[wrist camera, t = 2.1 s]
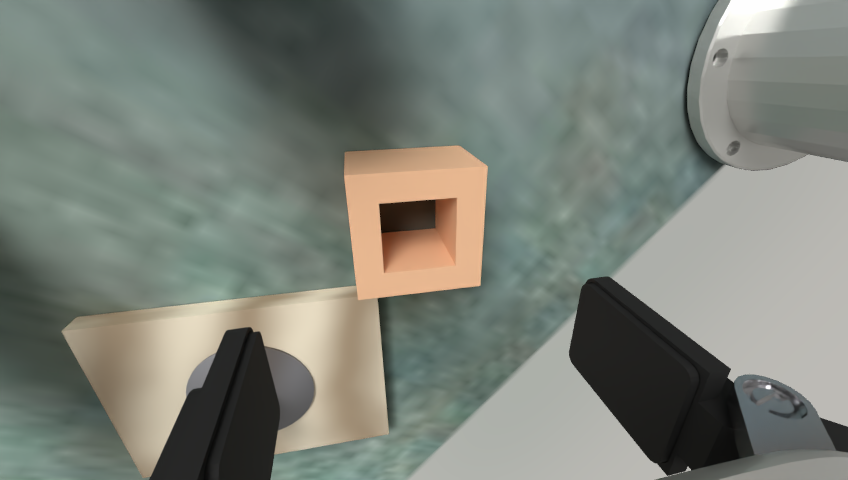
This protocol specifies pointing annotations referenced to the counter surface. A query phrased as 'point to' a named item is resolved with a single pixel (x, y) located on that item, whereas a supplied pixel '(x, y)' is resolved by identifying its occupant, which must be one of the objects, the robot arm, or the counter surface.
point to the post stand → (196, 348)
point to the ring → (416, 249)
